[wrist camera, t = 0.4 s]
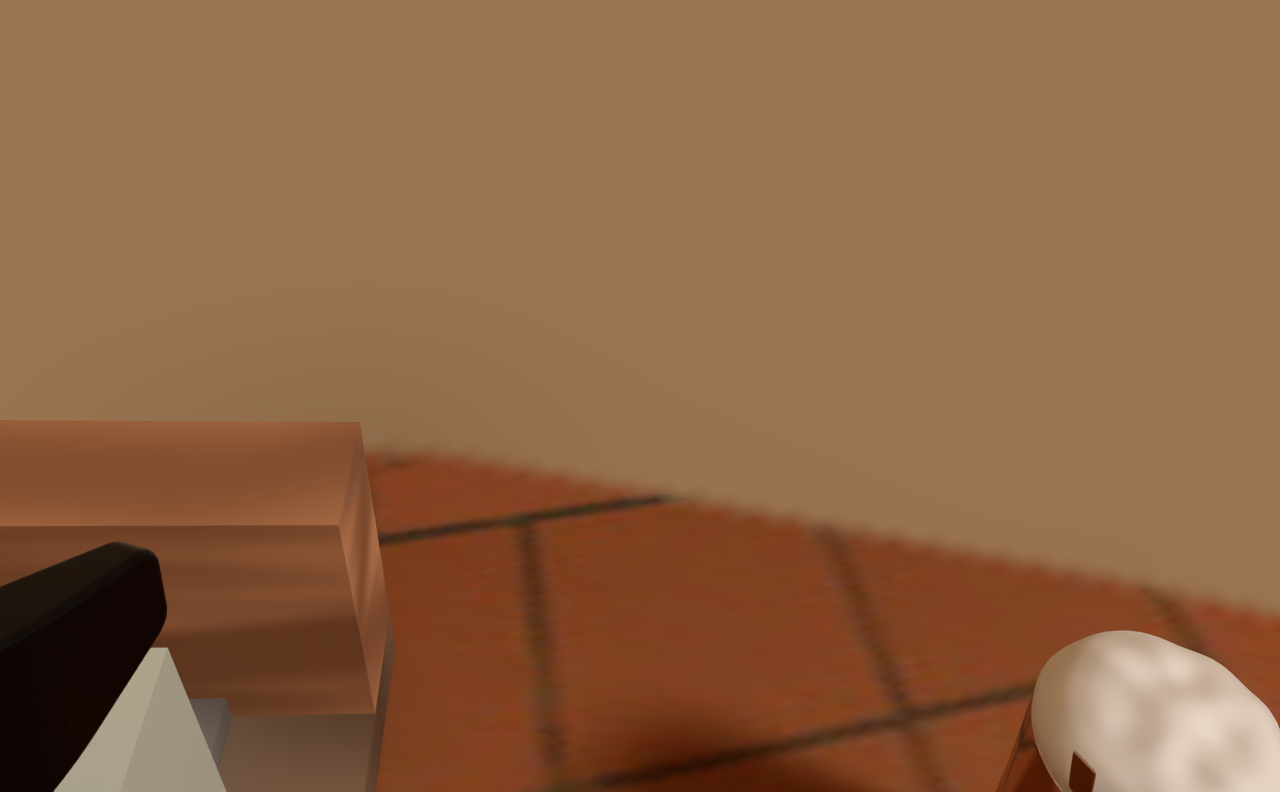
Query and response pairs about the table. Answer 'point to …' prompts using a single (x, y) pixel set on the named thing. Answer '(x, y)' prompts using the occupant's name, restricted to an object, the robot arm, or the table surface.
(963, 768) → the table surface
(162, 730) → the block
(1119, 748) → the milkshake
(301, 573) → the track
